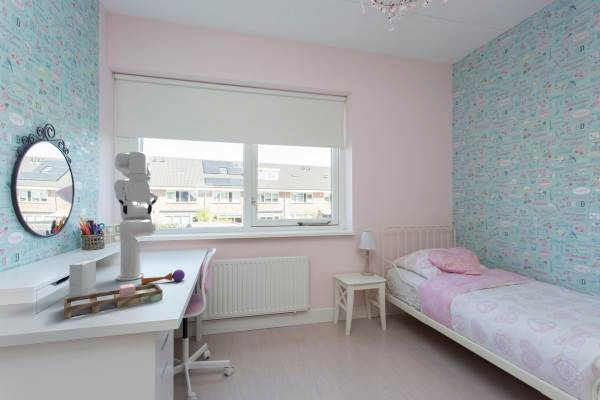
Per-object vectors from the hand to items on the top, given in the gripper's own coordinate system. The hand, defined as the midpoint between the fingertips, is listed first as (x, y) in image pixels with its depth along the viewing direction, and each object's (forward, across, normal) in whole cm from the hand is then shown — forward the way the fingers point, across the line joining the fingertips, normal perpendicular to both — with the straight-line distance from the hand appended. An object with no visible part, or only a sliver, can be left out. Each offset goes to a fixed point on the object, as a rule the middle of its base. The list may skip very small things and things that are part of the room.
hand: (137, 214), depth 130 cm
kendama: (+36, -13, -6) cm, 39 cm away
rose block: (+34, +6, +15) cm, 37 cm away
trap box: (+36, +10, +15) cm, 40 cm away
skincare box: (+36, +20, -6) cm, 42 cm away
